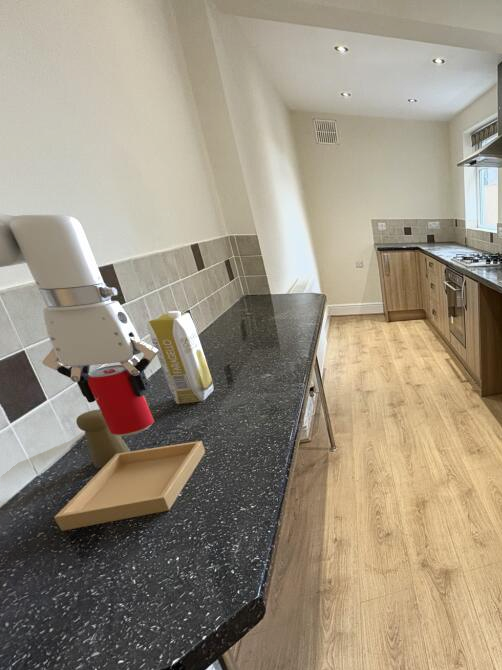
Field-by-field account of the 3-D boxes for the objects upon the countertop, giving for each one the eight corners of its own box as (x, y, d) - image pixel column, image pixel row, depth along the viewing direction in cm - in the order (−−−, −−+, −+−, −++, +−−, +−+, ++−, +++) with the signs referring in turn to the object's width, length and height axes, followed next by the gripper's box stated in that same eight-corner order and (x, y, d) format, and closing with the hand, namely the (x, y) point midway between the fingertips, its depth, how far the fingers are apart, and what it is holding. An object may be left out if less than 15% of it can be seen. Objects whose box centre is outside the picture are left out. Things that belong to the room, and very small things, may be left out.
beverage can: (147, 418, 80) (123, 361, 75) (161, 426, 77) (138, 367, 73) (105, 432, 75) (78, 372, 71) (119, 441, 72) (91, 379, 68)
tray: (61, 531, 66) (53, 517, 65) (121, 465, 83) (116, 453, 82) (169, 510, 71) (163, 497, 69) (205, 451, 88) (201, 440, 86)
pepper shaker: (85, 465, 83) (61, 417, 79) (118, 449, 88) (97, 404, 84) (108, 469, 82) (85, 421, 77) (139, 453, 87) (120, 407, 83)
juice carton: (206, 402, 110) (176, 314, 100) (171, 406, 108) (138, 317, 98) (218, 389, 118) (192, 306, 109) (186, 392, 116) (157, 308, 106)
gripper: (151, 289, 72) (184, 382, 79) (24, 296, 67) (71, 395, 74) (131, 297, 66) (168, 397, 73) (-12, 305, 61) (44, 413, 68)
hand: (119, 395), depth 74 cm, fingers closed on beverage can, 6 cm apart
